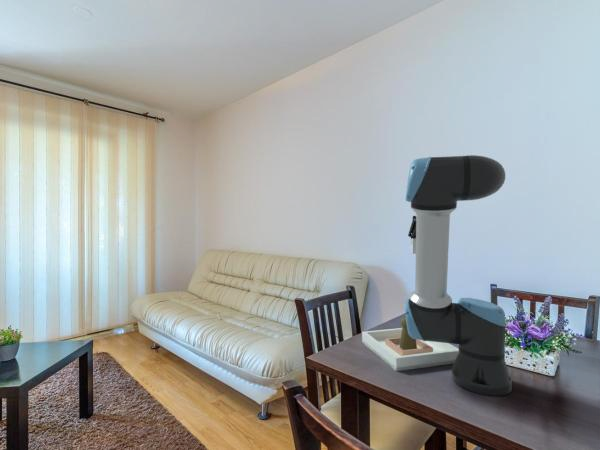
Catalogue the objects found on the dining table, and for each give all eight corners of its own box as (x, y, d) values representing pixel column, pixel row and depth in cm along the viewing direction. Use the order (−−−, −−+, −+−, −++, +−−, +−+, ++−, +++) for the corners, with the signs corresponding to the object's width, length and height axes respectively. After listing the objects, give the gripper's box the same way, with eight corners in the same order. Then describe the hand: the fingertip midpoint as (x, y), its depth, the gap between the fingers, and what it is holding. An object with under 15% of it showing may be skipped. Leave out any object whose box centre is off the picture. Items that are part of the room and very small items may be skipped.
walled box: (461, 362, 106) (461, 350, 106) (396, 371, 100) (396, 358, 100) (417, 336, 129) (417, 326, 129) (362, 342, 123) (362, 331, 123)
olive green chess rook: (414, 345, 117) (415, 315, 117) (419, 352, 111) (419, 320, 111) (397, 345, 118) (397, 315, 117) (401, 352, 112) (401, 320, 111)
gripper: (454, 202, 122) (453, 258, 123) (415, 205, 146) (414, 251, 147) (437, 202, 120) (436, 259, 121) (400, 205, 144) (399, 252, 145)
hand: (424, 255), depth 134 cm, fingers open, 13 cm apart
